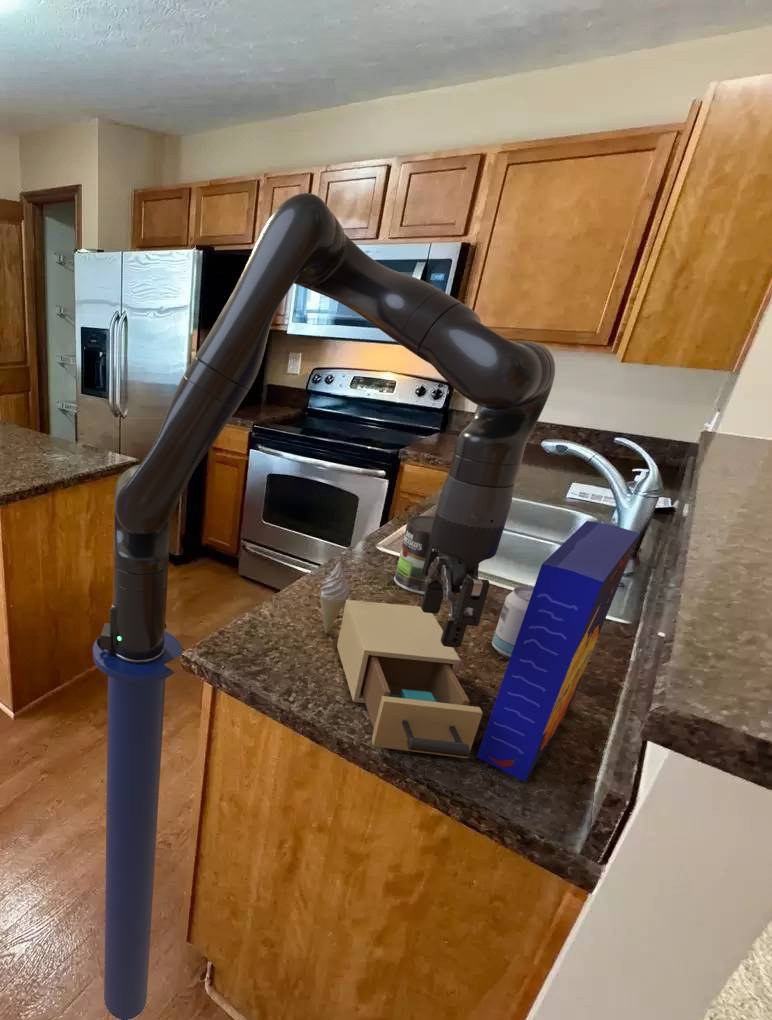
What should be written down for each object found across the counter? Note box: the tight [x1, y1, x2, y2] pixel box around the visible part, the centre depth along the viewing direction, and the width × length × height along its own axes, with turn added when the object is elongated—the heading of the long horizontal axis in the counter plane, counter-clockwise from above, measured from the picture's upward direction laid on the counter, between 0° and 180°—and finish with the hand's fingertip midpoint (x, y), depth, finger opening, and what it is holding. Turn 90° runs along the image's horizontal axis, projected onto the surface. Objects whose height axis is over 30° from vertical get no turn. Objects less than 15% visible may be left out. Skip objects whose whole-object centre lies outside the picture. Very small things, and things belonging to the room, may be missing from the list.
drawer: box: [361, 655, 484, 759], centre depth 84 cm, size 20×12×8 cm, turn 171°
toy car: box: [390, 689, 438, 702], centre depth 85 cm, size 4×7×4 cm, turn 82°
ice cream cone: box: [318, 560, 351, 634], centre depth 108 cm, size 5×5×15 cm
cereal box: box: [476, 520, 641, 783], centre depth 81 cm, size 22×6×30 cm, turn 133°
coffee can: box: [393, 515, 443, 596], centre depth 127 cm, size 10×10×14 cm
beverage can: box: [491, 586, 534, 660], centre depth 104 cm, size 7×7×12 cm
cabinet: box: [336, 599, 462, 704], centre depth 97 cm, size 16×14×10 cm
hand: (438, 627), depth 79 cm, fingers open, 8 cm apart
